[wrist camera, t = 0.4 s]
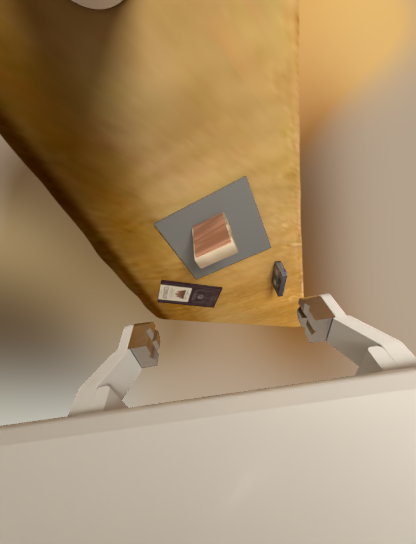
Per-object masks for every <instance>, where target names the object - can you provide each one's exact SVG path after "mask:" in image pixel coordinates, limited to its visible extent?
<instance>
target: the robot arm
mask: <svg viewBox="0 0 416 544" xmlns="http://www.w3.org/2000/svg"><path fill="white" fill-rule="evenodd" d="M72 1H73V2H75V3H77V4H79V5H82V6H84V7H87V8H91V9H107V8H110V7H113V6H115V5H117V4H119V3H120V2H121V1H123V0H72ZM298 304H299V305H300V307H299V308H298V310H297V315H298V320H299V322H300V324H301V326H302V327H304V328H305V334H306V336H307V338H308V340H309V341H310V343H312V342H321V341H327V342H328V343H329V344H330V345H332V346H333V347H334V348H336V349H337V350H338V351H340V352H341V353H342V354H344V355H345V356H346V357H347V358H349V359H350V360H351V361H353V362H354V363H355V364H357V365H358V366H359V368H358V370H357V372H356V374H355V376H348V377H341V378H334V379H328V380H320V381H313V382H306V383H300V384H292V385H285V386H278V387H271V388H264V389H257V390H250V391H243V392H236V393H229V394H222V395H215V396H208V397H202V398H194V399H187V400H180V401H173V402H166V403H159V404H152V405H145V406H138V407H132V408H128V407H127V406H126V405H125V403H124V402H123V401H122V399H123V398H124V396H125V395H126V393H127V391H128V390H129V388H130V387H131V385H132V384H133V382H134V381H135V379H136V378H137V376H138V375H139V373H140V372H141V370H142V368H146V367H152V366H157V364H158V356H159V354H158V352H157V350H158V348H159V347H160V336H159V333H158V331H157V330H155V324H154V322H147V323H140V324H133V325H126V326H125V328H124V330H123V334H122V337H121V340H120V344H119V346H118V350H117V351H115V352H114V353H113V354H112V355H111V356H110V357H109V358H108V359H107V360H106V361H105V362H104V363H103V364H102V365H101V366H100V367H99V368H98V369H97V370H96V371H95V373H94V374H93V375H92V376H91V377H90V378H89V379H88V380H87V381H86V382H85V383H84V384H83V385H82V386H81V387H80V388H79V390H78V393H77V395H76V397H75V400H74V402H73V405H72V407H71V410H70V412H69V415H68V416H67V417H61V418H53V419H46V420H39V421H32V422H25V423H18V424H11V425H3V426H0V544H416V357H415V356H414V355H413V354H412V353H411V352H410V351H409V350H408V349H407V347H406V346H405V345H404V344H403V343H402V342H401V341H399V340H397V339H395V338H393V337H391V336H389V335H387V334H385V333H383V332H381V331H379V330H377V329H375V328H373V327H371V326H369V325H367V324H365V323H363V322H361V321H359V320H357V319H355V318H354V317H352V316H346V314H345V313H344V312H343V310H342V309H341V308H340V307H339V305H338V304H337V303H336V302H335V300H334V299H333V298H332V296H330V294H323V295H316V296H310V297H305V298H300V299H299V303H298Z"/></svg>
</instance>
